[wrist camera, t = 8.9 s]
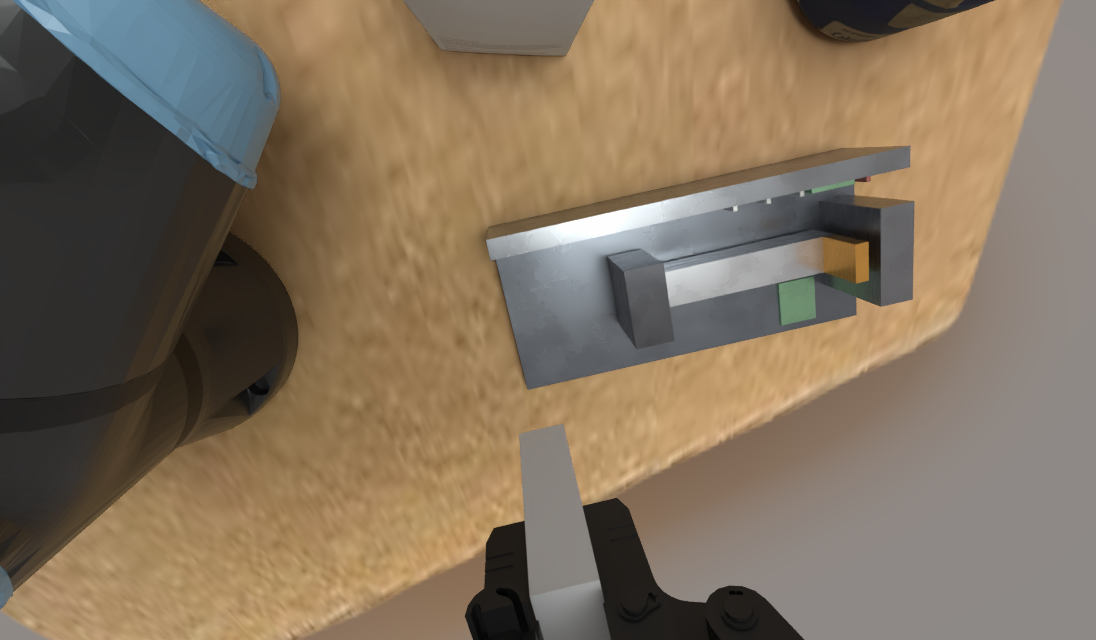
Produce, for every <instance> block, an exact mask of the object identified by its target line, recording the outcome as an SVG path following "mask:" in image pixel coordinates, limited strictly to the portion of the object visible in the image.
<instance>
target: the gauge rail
mask: <svg viewBox="0 0 1096 640" xmlns="http://www.w3.org/2000/svg"><path fill="white" fill-rule="evenodd" d="M908 167H910V146H891V147H865V148H841V149H837V150H832V151H828V152H823V153H819V154H814V155H810V156H805V157H801V158H796V159H792V160H787V161H783V162H778V163H774V164H769V165H765V166H760V167H756V168H751V169H747V170H742V171H738V172H733V173H729V174H724V175H720V176H715V177H711V178H706V179H702V180H697V181H693V182H688V183H684V184H679V185H675V186H670V187H666V188H661V189H657V190H652V191H648V192H643V193H639V194H634V195H630V196H625V197H621V198H616V199H612V200H607V201H603V202H598V203H594V204H589V205H585V206H580V207H576V208H571V209H567V210H563V211H558V212H554V213H549V214H545V215H540V216H536V217H531V218H527V219H522V220H518V221H513V222H509V223H504V224H500V225H495V226H491V227H489V229H488V233H487V237H486V244H487V248H488V252H489V256H490V260H491V261H492V260H496V262H497V266H498V270H499V275H500V279H501V283H502V287H503V291H504V295H505V299H506V303H507V307H508V311H509V315H510V319H511V324H512V328H513V332H514V336H515V340H516V344H517V348H518V352H519V356H520V360H521V364H522V368H523V373H524V377H525V381H526V385H527V389H528V390H529V389H533V388H538V387H542V386H546V385H551V384H555V383H560V382H564V381H568V380H573V379H577V378H582V377H586V376H590V375H595V374H599V373H604V372H608V371H612V370H617V369H621V368H626V367H630V366H634V365H639V364H643V363H648V362H652V361H656V360H661V359H665V358H670V357H674V356H678V355H683V354H687V353H692V352H696V351H700V350H705V349H709V348H714V347H718V346H722V345H727V344H731V343H736V342H740V341H744V340H749V339H753V338H758V337H762V336H766V335H771V334H775V333H780V332H784V331H788V330H793V329H797V328H802V327H806V326H810V325H815V324H819V323H824V322H828V321H832V320H837V319H841V318H846V317H850V316H854V315H856V297H857V298H860V299H862V300H865V301H868V302H870V303H873V304H875V305H878V306H881V307H882V306H886V305H890V304H895V303H899V302H904V301H908V300H912V299H913V247H914V201H907V200H897V199H887V198H877V197H867V196H856V195H854V184H855V181H858V182H869V181H871V176H872V175H877V174H881V173H886V172H890V171H895V170H899V169H904V168H908ZM813 229H814V230H818V231H823V232H827V233H832V234H836V235H841V236H845V237H850V238H854V239H859V240H863V241H868V242H869V281H865V282H861V283H853V282H850V281H847V280H845V279H842V278H839V277H836V276H833V275H830V274H827V273H819V274H815V275H810V276H806V277H801V278H797V279H793V280H788V281H784V282H779V283H775V284H770V285H766V286H762V287H757V288H753V289H748V290H744V291H739V292H735V293H731V294H726V295H722V296H717V297H713V298H708V299H704V300H700V301H695V302H691V303H686V304H682V305H678V306H673V307H670V312H671V319H672V326H673V334H674V341H672V342H668V343H664V344H659V345H655V346H650V347H646V348H642V349H636V348H635V346H634V345H633V344H632V342H631V341H630V339H629V338H628V336H627V335H626V334H625V332H624V331H623V329H622V328H621V326H620V325H619V320H618V315H617V309H616V303H615V297H614V292H613V286H612V280H611V274H610V269H609V263H608V256H612V255H617V254H621V253H626V252H630V251H635V250H639V249H643V250H644V251H646V252H647V253H649V254H650V255H652V256H654V257H655V258H657V259H658V260H660V261H661V262H663V263H666V262H670V261H675V260H679V259H684V258H688V257H692V256H697V255H701V254H706V253H710V252H715V251H719V250H724V249H728V248H733V247H737V246H741V245H746V244H750V243H755V242H759V241H764V240H768V239H773V238H777V237H782V236H786V235H790V234H795V233H799V232H804V231H808V230H813Z"/></svg>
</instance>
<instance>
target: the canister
mask: <svg viewBox="0 0 1096 640" xmlns="http://www.w3.org/2000/svg"><path fill="white" fill-rule="evenodd" d="M991 1H994V0H797V2H798V4H799V6H800V8H801V10H802V12H803V14H804V15H805V16H806V18H807V19H808V20H809V21H810V22H811V23H812V24H813V25H814V26H815V27H816V28H817V29H818V30H819V31H821V32H822V33H824V34H826V35H828V36H830V37H832V38H835V39H838V40H842V41H848V42H865V41H870V40H874V39H878V38H882V37H885V36H889V35H892V34H895V33H898V32H901V31H904V30H907V29H910V28H913V27H917V26H921V25H924V24H928V23H931V22H933V21H937V20H940V19H943V18H945V17H948V16H951V15H954V14H957V13H960V12H963V11H966V10H969V9H972V8H975V7H978V6H980V5H983V4H986V3H988V2H991Z"/></svg>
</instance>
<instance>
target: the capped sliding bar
mask: <svg viewBox="0 0 1096 640" xmlns="http://www.w3.org/2000/svg"><path fill="white" fill-rule="evenodd" d="M608 263H609V269H610V274H611V280H612V286H613V292H614V297H615V303H616V309H617V315H618V320H619V325H620V326H621V328H622V329H623V331H624V332H625V334H626V335H627V336H628V338H629V339H630V341H631V342H632V344H633V345H634V346H635V348H636V349H642V348H646V347H650V346H655V345H659V344H664V343H668V342H672V341H674V334H673V326H672V319H671V312H670V307H673V306H678V305H682V304H686V303H691V302H695V301H700V300H704V299H708V298H713V297H717V296H722V295H726V294H731V293H735V292H739V291H744V290H748V289H753V288H757V287H762V286H766V285H770V284H775V283H779V282H784V281H788V280H793V279H797V278H801V277H806V276H810V275H815V274H819V273H827V274H830V275H833V276H836V277H839V278H842V279H845V280H847V281H850V282H853V283H861V282H865V281H869V242H868V241H863V240H859V239H854V238H850V237H845V236H841V235H836V234H832V233H827V232H823V231H818V230H814V229H813V230H808V231H804V232H799V233H795V234H790V235H786V236H782V237H777V238H773V239H768V240H764V241H759V242H755V243H750V244H746V245H741V246H737V247H733V248H728V249H724V250H719V251H715V252H710V253H706V254H701V255H697V256H692V257H688V258H684V259H679V260H675V261H670V262H666V263H663V262H661V261H660V260H658V259H657V258H655V257H654V256H652V255H650V254H649V253H647V252H646V251H644V250H643V249H639V250H635V251H630V252H626V253H621V254H617V255H612V256H608Z"/></svg>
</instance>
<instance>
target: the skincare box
mask: <svg viewBox="0 0 1096 640" xmlns="http://www.w3.org/2000/svg"><path fill="white" fill-rule="evenodd" d="M403 1H404V2H405V4H406V5H407V6H408V8H409V9H410V10H411V12H412V13H413V14H414V15H415V17H416V18H417V19H418V21H419V22H420V23H421V24H422V26H423V27H424V28H425V30H426V31H427V32H428V34H429V35H430V36H431V38H432V39H433V40H434V41H435V43H436V44H437V45H438V47H439V48H440V49H441V50H447V51H461V52H479V53H499V54H520V55H546V56H564V55H566V54H567V52H568V51H569V49H570V47H571V45H572V42H573V40H574V38H575V36H576V34H577V32H578V30H579V28H580V26H581V24H582V22H583V20H584V18H585V17H586V15H587V13H588V11H589V9H590V7H591V5H592V3H593V1H594V0H403Z"/></svg>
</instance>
